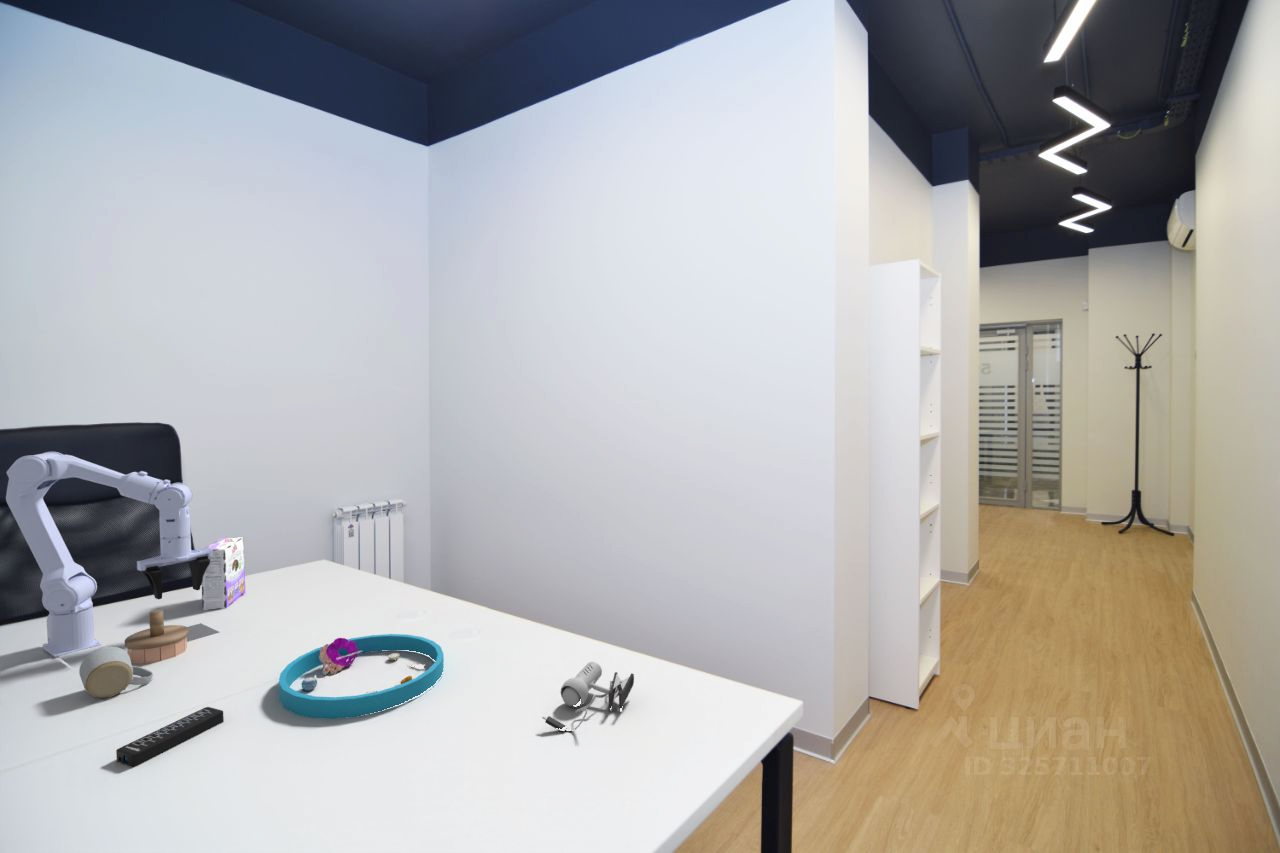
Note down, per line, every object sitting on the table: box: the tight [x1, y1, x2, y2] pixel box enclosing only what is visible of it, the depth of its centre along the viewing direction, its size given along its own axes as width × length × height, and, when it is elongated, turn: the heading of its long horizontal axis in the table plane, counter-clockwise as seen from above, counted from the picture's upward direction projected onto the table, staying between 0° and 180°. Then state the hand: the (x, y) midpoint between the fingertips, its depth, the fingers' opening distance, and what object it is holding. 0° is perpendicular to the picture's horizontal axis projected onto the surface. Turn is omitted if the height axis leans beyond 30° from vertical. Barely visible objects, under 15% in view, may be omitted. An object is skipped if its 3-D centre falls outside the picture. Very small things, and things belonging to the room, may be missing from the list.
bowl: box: [126, 637, 188, 665], centre depth 137 cm, size 10×10×4 cm
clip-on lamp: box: [541, 661, 635, 731], centre depth 114 cm, size 12×6×18 cm
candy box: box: [201, 536, 246, 611], centre depth 170 cm, size 14×6×16 cm, turn 14°
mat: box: [186, 622, 220, 643], centre depth 148 cm, size 10×10×1 cm
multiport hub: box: [115, 706, 225, 768], centre depth 104 cm, size 4×14×2 cm, turn 159°
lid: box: [124, 609, 188, 650], centre depth 137 cm, size 11×11×6 cm
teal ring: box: [278, 633, 445, 720], centre depth 126 cm, size 30×30×6 cm
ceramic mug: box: [78, 646, 154, 699], centre depth 122 cm, size 11×8×8 cm
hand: (177, 593), depth 147 cm, fingers open, 7 cm apart
